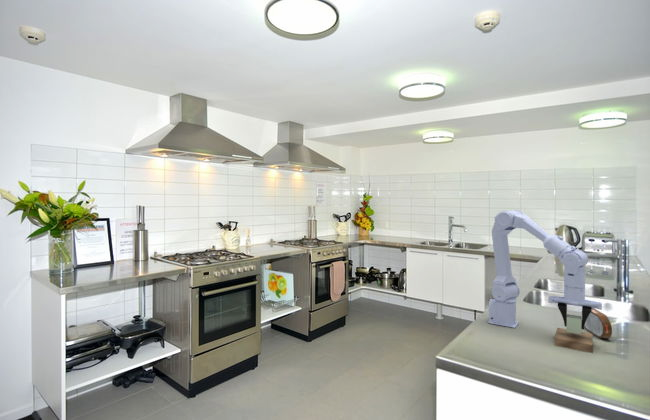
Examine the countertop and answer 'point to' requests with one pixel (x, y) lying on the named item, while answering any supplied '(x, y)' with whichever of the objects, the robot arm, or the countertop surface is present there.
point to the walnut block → (574, 340)
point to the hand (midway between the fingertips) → (574, 327)
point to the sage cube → (574, 324)
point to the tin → (598, 324)
